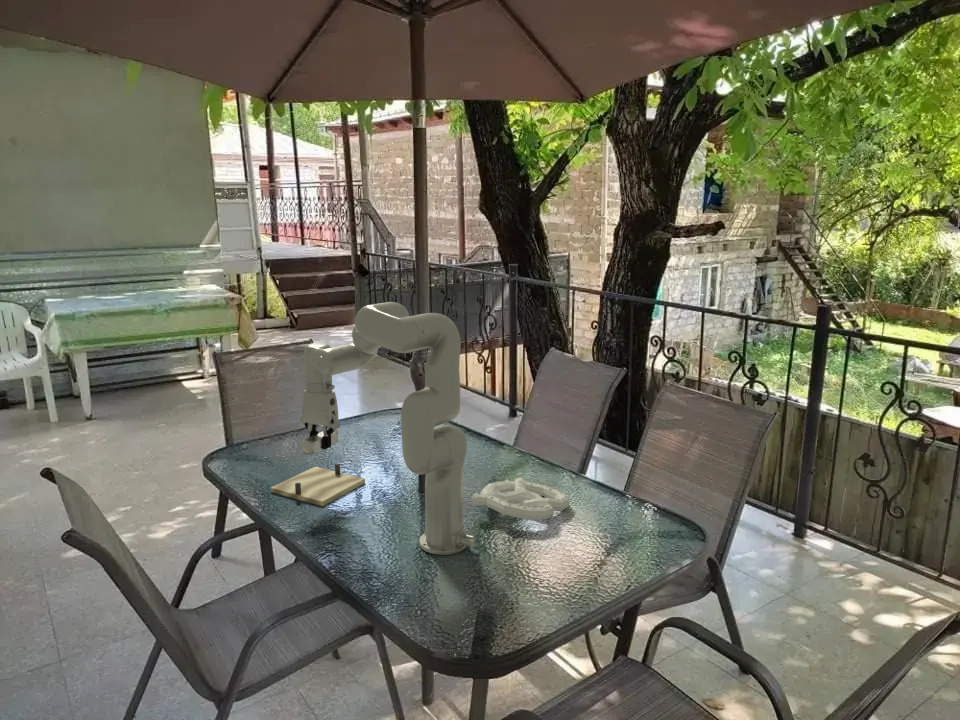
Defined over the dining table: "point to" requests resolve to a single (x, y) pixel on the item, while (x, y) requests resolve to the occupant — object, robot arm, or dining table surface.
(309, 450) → the grey capsule bar
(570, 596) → the dining table surface
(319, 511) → the dining table surface
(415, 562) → the dining table surface
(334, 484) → the board
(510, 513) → the pretzel
